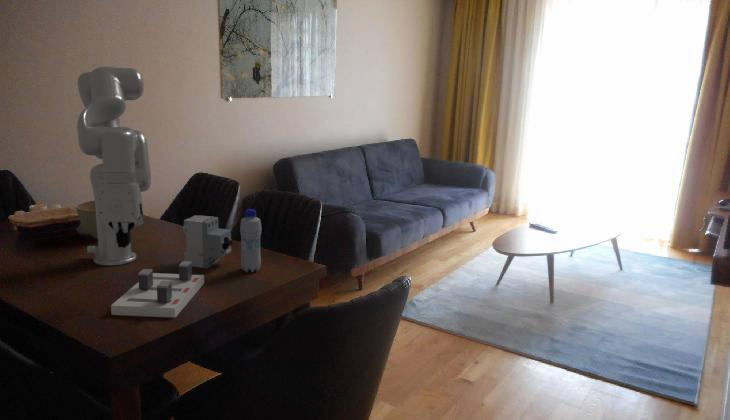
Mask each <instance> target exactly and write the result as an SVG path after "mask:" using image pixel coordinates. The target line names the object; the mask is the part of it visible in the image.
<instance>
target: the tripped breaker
mask: <svg viewBox="0 0 730 420" xmlns="http://www.w3.org/2000/svg"><path fill="white" fill-rule="evenodd" d="M153 273H154V271H153V269H151V268H143V269H141V271H139V272H138V274H137V275H138V276H137V277H138V278H137V279H138V282H139V289H143V290H148V289H149V288H150V287H151V286H153Z"/></svg>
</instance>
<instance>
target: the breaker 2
mask: <svg viewBox="0 0 730 420" xmlns="http://www.w3.org/2000/svg"><path fill="white" fill-rule="evenodd" d="M192 269H193V266H192V261H184V260H182V261H181V263H179V264H178V274H179V280H187V281H188V280H189V279H190V278H191V277H192V275H193V271H192Z"/></svg>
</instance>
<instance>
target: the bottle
mask: <svg viewBox="0 0 730 420" xmlns="http://www.w3.org/2000/svg"><path fill="white" fill-rule="evenodd" d="M244 216H245V217H242V218H241V219H240V226H239V231H240V233H239V234H240V241H241V243H240V244H241V245H240V246H241V247H240V249H241V250H240V251H241V252H240V253H241V255H240V268H241V270H242V271H243V272H245V273H249V271H250V273H254V272H259V270H260V269H261V265H262V257H261V255H262V254H261V235H262V231H263V230H262V228H263V227H262V222H261V219H260V218H258V217H257V211H256V210H255V209H253V208H247V209H246V210H245V212H244Z"/></svg>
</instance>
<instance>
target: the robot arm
mask: <svg viewBox="0 0 730 420" xmlns="http://www.w3.org/2000/svg"><path fill="white" fill-rule="evenodd" d="M144 85H145V84H144V78H143V75H142V74H141V73H140V71H138V70H137V69H136V68H132V67H114V66H100V67H97V68H94V69H93V70H91V71H88V72H83V73H81V74H80V75H79V76H78V77H77V88H78V89H77V90H78V93H79V96H80V99H81V102H82V104H83V106H84V109H83V110H82V111H81V112H80V114H79V115H78V118H77V123H76V128H77V129H76V130H77V140H78V145H79V148H80V150H81V152H82V153H83V154H85V155H88V156H95V157H96V158H97V159H100V160H102V163H98V164H96V165H94V166H92V167H91V169H90V173H89V179H90V184H91V188H92V193H93V198H94V199H93V200H94V201H95V208H96V222H97V236H98V239H97V246H94V245H87V247H86V253H87V254H90V255H91V254H94V255H95V256H94V257H93V262H94V263H95V264H96V265H100V266H120V265H125V264H129V263H131V262H132V263H133V262H134V261H135V260H137V253H136V252H133V251H132V245H131V243H132V242H131V231H132V230H133V229H134V227H140V226H142V225H144V224H145V223H144V219H143V217H144V204H143V197H142V193H143V192H146V191H149V189H150V188H151V186H152V174H151V172H152V171H151V166H150V165H151V164H150V157H149V148H148V147H149V146H148V141H147V138H146V136H145V134H144V132H142V131H140V130H137V129H133V128H131V127H128V126H121V122H120V117H121V116H122V115H123V114H125V111H126V108H127V106H126V105H127V104H126V101H137V100H138V99H140V98H141V96H143V94H144V88H145V86H144Z"/></svg>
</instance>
